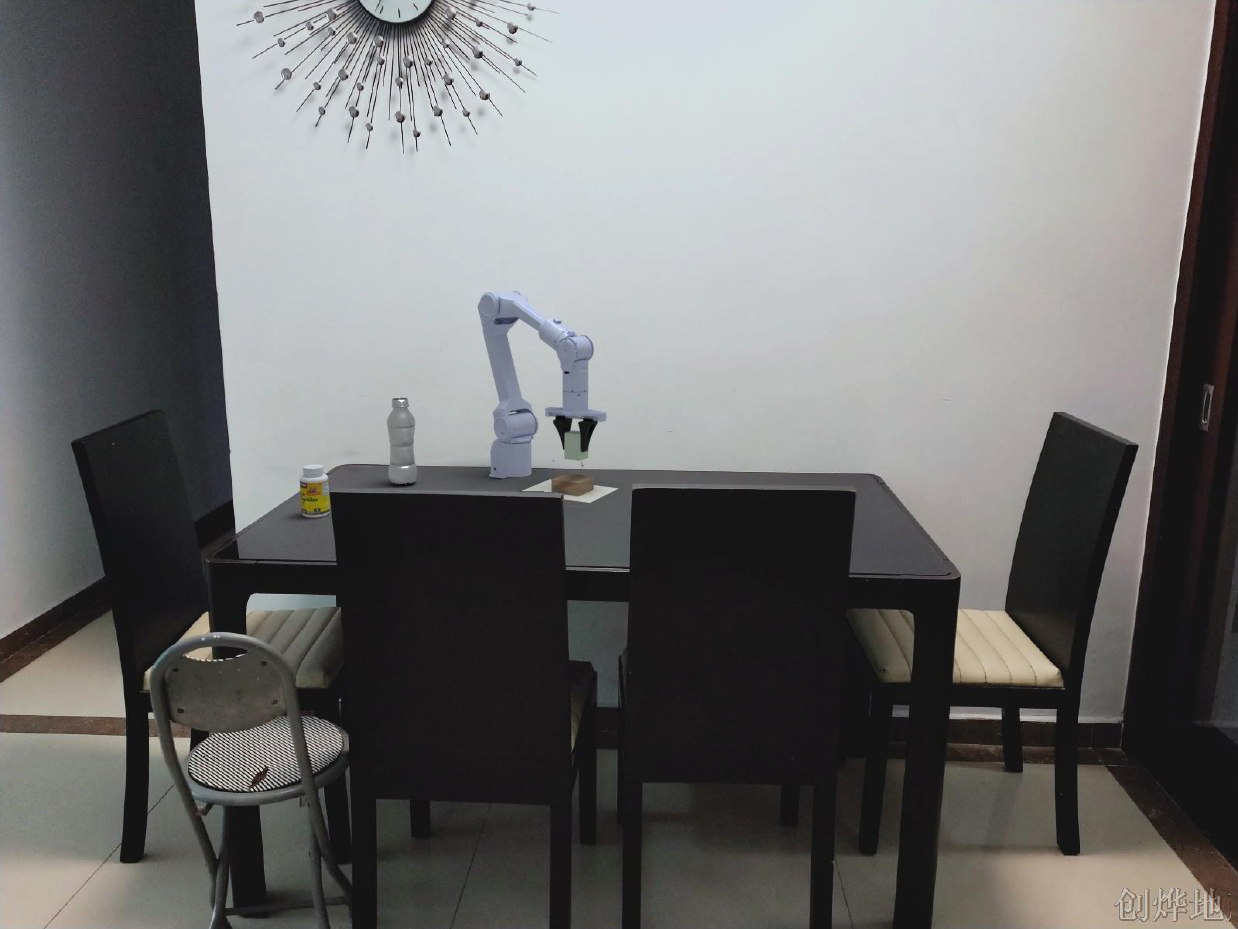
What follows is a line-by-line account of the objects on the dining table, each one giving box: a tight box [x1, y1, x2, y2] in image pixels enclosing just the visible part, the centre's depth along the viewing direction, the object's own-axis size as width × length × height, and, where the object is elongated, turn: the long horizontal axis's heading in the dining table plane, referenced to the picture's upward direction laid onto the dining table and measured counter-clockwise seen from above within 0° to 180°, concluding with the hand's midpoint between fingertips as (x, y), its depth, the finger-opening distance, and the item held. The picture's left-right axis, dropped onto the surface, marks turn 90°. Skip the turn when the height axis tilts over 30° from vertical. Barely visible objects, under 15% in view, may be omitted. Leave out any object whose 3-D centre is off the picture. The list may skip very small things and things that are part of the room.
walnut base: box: [550, 472, 595, 496], centre depth 212 cm, size 7×7×3 cm
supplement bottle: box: [299, 463, 331, 519], centre depth 193 cm, size 6×6×10 cm
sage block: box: [563, 429, 589, 462], centre depth 214 cm, size 4×4×6 cm
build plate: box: [522, 478, 619, 504], centre depth 213 cm, size 18×14×1 cm
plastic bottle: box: [386, 397, 418, 485], centre depth 217 cm, size 6×7×20 cm
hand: (575, 450), depth 213 cm, fingers closed on sage block, 4 cm apart
